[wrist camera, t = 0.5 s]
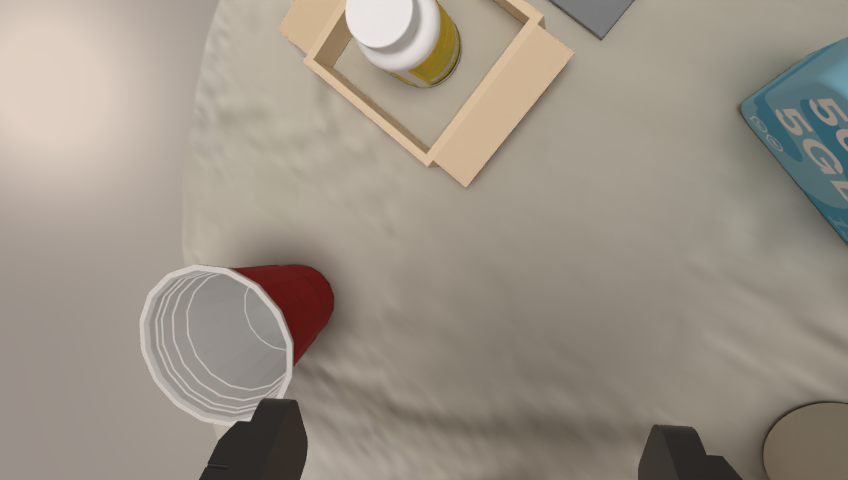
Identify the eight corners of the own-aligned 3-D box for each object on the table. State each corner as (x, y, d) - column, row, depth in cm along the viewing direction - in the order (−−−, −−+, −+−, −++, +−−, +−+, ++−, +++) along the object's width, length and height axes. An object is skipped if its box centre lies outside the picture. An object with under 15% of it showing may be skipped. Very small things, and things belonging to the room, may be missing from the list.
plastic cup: (318, 385, 43) (229, 465, 31) (230, 304, 44) (113, 353, 33) (389, 294, 40) (319, 347, 28) (292, 210, 41) (187, 228, 29)
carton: (382, -98, 35) (366, -121, 32) (579, 54, 33) (581, 44, 30) (294, 45, 39) (272, 36, 36) (468, 192, 37) (460, 194, 34)
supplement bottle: (463, 7, 35) (427, -49, 25) (462, 87, 36) (426, 60, 26) (391, 13, 36) (331, -39, 27) (391, 89, 37) (333, 64, 28)
